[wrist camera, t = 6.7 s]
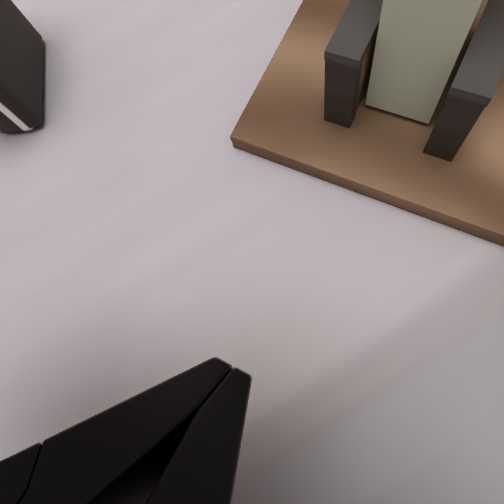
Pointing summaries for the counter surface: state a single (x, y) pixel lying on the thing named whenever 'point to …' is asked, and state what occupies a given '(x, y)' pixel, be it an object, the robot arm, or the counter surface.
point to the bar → (417, 53)
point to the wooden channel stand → (385, 118)
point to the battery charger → (19, 71)
